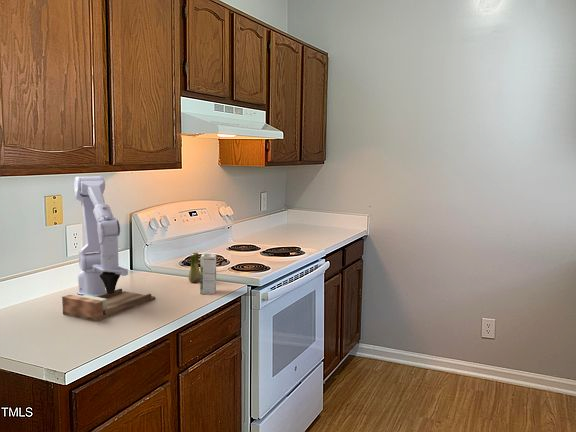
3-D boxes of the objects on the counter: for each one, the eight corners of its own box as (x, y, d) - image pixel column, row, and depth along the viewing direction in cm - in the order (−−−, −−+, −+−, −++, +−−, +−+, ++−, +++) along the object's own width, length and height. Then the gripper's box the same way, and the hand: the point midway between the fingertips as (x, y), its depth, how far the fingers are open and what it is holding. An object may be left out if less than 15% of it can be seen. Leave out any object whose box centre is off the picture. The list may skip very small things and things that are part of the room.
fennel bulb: (192, 284, 217) (192, 255, 215) (185, 282, 220) (184, 253, 219) (203, 281, 221) (203, 253, 219) (196, 279, 224) (196, 251, 223)
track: (63, 314, 178) (62, 296, 177) (124, 293, 202) (123, 278, 202) (96, 321, 171) (95, 303, 170) (155, 299, 196) (154, 283, 195)
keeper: (76, 309, 179) (75, 297, 179) (85, 306, 183) (85, 294, 182) (98, 313, 175) (97, 301, 174) (107, 310, 178) (106, 298, 178)
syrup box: (201, 290, 208) (200, 253, 206) (216, 290, 209) (216, 253, 207) (200, 294, 202) (199, 256, 200) (215, 294, 203) (215, 256, 201)
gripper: (85, 254, 184) (86, 293, 186) (116, 259, 177) (118, 299, 179) (100, 251, 190) (102, 288, 192) (131, 255, 184) (133, 294, 185)
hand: (110, 293), depth 186 cm, fingers closed
